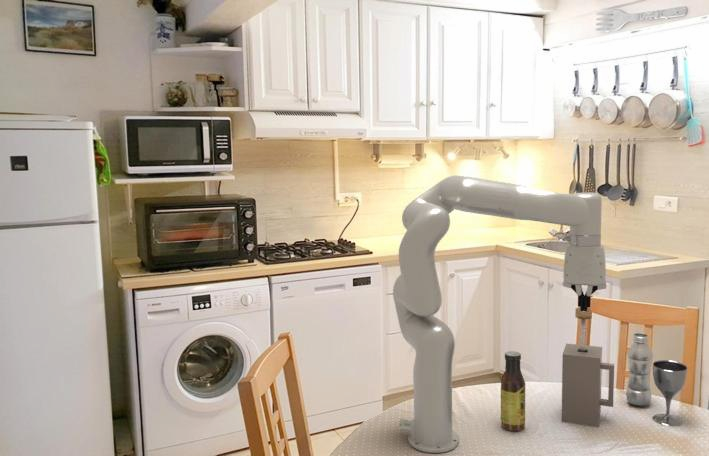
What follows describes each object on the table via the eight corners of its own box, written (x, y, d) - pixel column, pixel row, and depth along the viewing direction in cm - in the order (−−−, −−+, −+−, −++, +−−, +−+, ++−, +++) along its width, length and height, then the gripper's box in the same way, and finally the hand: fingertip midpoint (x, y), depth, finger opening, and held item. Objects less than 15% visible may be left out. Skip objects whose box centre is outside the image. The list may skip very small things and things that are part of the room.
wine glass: (683, 416, 165) (686, 362, 163) (685, 429, 158) (688, 372, 156) (650, 411, 169) (652, 358, 167) (651, 423, 162) (653, 368, 159)
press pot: (561, 421, 164) (562, 354, 162) (565, 407, 173) (566, 343, 170) (612, 429, 159) (614, 359, 157) (613, 414, 168) (615, 348, 165)
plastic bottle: (621, 404, 174) (623, 335, 171) (632, 397, 178) (634, 330, 175) (644, 411, 169) (647, 340, 166) (655, 403, 173) (658, 334, 171)
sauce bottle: (526, 433, 159) (526, 358, 156) (500, 431, 160) (501, 357, 157) (524, 421, 165) (524, 350, 162) (500, 420, 166) (500, 349, 163)
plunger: (566, 383, 163) (567, 312, 161) (569, 373, 170) (570, 305, 167) (595, 387, 161) (597, 314, 158) (597, 377, 167) (599, 307, 164)
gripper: (553, 242, 160) (552, 311, 162) (616, 244, 153) (614, 315, 156) (556, 237, 166) (555, 303, 169) (617, 239, 160) (615, 308, 163)
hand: (584, 309), depth 163 cm, fingers closed
